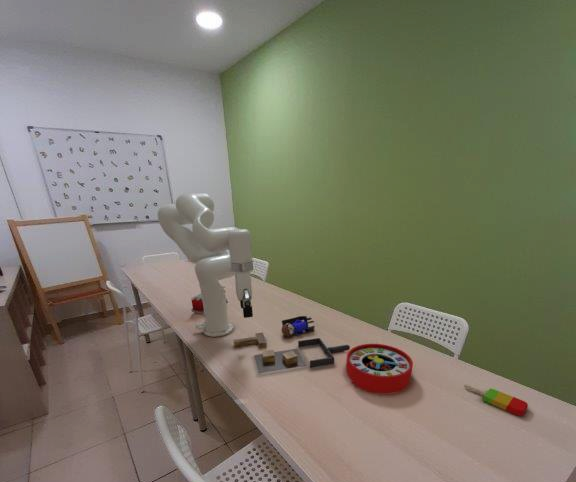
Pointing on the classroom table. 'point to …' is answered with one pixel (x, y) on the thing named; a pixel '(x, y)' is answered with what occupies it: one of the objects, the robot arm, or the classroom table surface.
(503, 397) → the popsicle
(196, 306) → the toy fire truck
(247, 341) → the brush
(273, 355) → the cork chip
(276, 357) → the tray
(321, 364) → the dustpan
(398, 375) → the toy clock
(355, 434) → the classroom table surface
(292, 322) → the character figurine
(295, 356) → the cork chip
